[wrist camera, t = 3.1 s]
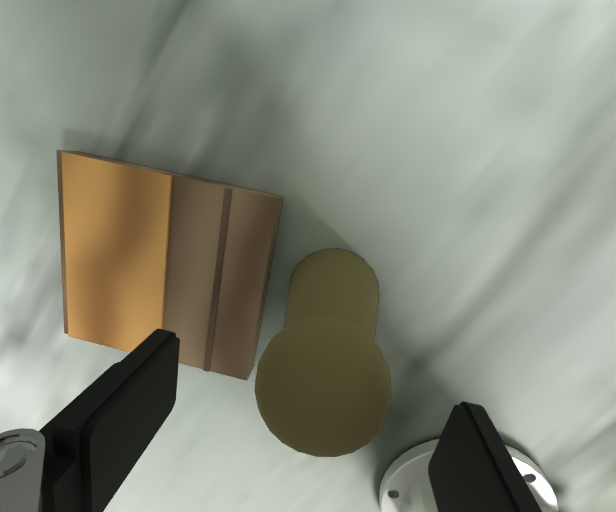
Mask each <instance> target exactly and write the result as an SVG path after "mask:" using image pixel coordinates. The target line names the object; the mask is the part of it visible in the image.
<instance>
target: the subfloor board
mask: <svg viewBox="0 0 616 512" xmlns="http://www.w3.org/2000/svg"><path fill="white" fill-rule="evenodd" d="M57 169H58V192H59V215H60V239H61V262H62V286H63V309H64V333H66V334H68V336H70V337H74V338H77V339H81V340H85V341H89V342H93V343H97V344H100V345H104V346H108V347H112V348H116V349H120V350H123V351H127V352H132V351H133V350H134V349H135V348H136V347H137V346H138V345H139V344H140V343H142V342H143V341H144V340H145V339H146V338H147V337H148V336H149V335H150V334H151V333H152V332H154V331H155V330H156V329H164V330H168V331H172V332H175V333H176V337H178V338H179V339H180V348H179V362H178V363H181V364H185V365H189V366H193V367H197V368H201V369H203V370H204V371H208V372H209V371H212V372H216V373H220V374H224V375H228V376H231V377H235V378H239V379H243V380H247V379H248V377H249V375H250V373H251V371H252V369H253V366H254V360H255V354H256V349H257V343H258V337H259V331H260V326H261V320H262V314H263V308H264V303H265V297H266V291H267V286H268V280H269V274H270V268H271V263H272V257H273V251H274V245H275V240H276V234H277V228H278V223H279V217H280V211H281V205H282V200H283V197H282V196H278V195H273V194H268V193H264V192H259V191H255V190H250V189H246V188H241V187H237V186H232V185H228V184H223V183H218V182H214V181H209V180H205V179H200V178H196V177H191V176H187V175H182V174H178V173H173V172H168V171H164V170H159V169H155V168H150V167H146V166H141V165H137V164H132V163H127V162H123V161H118V160H114V159H109V158H105V157H100V156H96V155H91V154H87V153H82V152H77V151H60V150H57Z"/></svg>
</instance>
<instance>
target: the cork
mask: <svg viewBox="0 0 616 512" xmlns="http://www.w3.org/2000/svg"><path fill="white" fill-rule="evenodd" d="M378 301H379V286H378V281H377V278H376V276H375V273H374V271H373V269H372V268H371V267H370V266H369V265H368V264H367V262H366V261H365V260H364V259H363V258H361V257H359V256H357V255H356V254H354V253H352V252H350V251H346V250H341V249H337V248H336V249H323V250H320V251H317V252H315V253H313V254H310V255H308V256H307V257H306V258H305V259H304V260H302V261H301V262H300V263H299V264H298V266H297V267H296V269H295V271H294V272H293V274H292V277H291V282H290V287H289V294H288V301H287V308H286V315H285V322H284V329H283V330H282V331H281V332H279V333H278V334H277V335H276V336H275V337H274V338H272V340H271V341H270V343H269V345H268V346H267V348H266V350H265V351H264V353H263V355H262V357H261V359H260V361H259V363H258V368H257V374H256V380H255V395H256V400H257V405H258V409H259V411H260V414H261V416H262V418H263V420H264V421H265V423H266V425H267V427H268V428H269V430H270V431H271V432H272V433H273V434H274V435H275V436H276V437H277V438H278V439H279V440H280V441H281V442H282V443H284V444H286V445H287V446H289V447H291V448H293V449H295V450H296V451H298V452H302V453H305V454H309V455H313V456H316V457H337V456H341V455H345V454H349V453H353V452H355V451H356V450H358V449H360V448H361V447H363V446H365V445H367V444H368V443H369V441H370V440H371V439H372V438H373V437H374V436H375V434H376V433H377V432H378V431H379V430H380V428H381V427H382V426H383V424H384V422H385V419H386V417H387V414H388V411H389V408H390V403H391V397H392V395H391V377H390V373H389V369H388V366H387V364H386V361H385V359H384V357H383V355H382V352H381V350H380V349H379V347H378V346H377V344H376V343H375V332H376V322H377V312H378Z"/></svg>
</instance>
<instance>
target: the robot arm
mask: <svg viewBox="0 0 616 512" xmlns="http://www.w3.org/2000/svg"><path fill="white" fill-rule="evenodd" d="M179 348H180V339H179V338H178V337H176V333H175V332H172V331H168V330H164V329H156V330H155V331H154V332H152V333H151V334H150V335H149V336H148V337H147V338H146V339H145V340H144V341H143V342H142V343H140V344H139V345H138V346H137V347H136V348H135V349H134V350H133V351H132V352H131V353H129V354H128V355H127V356H126V357H125V358H124V359H123V360H122V361H121V362H118V363H115V364H114V365H112V366H111V367H110V368H109V369H108V370H106V371H105V372H104V373H103V374H102V375H101V376H100V377H99V378H98V379H96V380H95V381H94V382H93V383H92V384H91V385H90V386H89V387H87V388H86V389H85V390H84V391H83V392H82V393H81V394H80V395H79V396H77V397H76V398H75V399H74V400H73V401H72V402H71V403H70V404H69V405H67V406H66V407H65V408H64V409H63V410H62V411H61V412H60V413H58V414H57V415H56V416H55V417H54V418H53V419H52V420H51V421H50V422H48V423H47V424H46V425H45V426H44V427H43V428H42V429H41V430H40V431H36V430H33V429H22V428H21V429H15V430H9V431H6V432H3V433H0V512H103V511H104V509H105V508H106V506H107V505H108V503H109V502H110V501H111V499H112V498H113V496H114V495H115V493H116V492H117V490H118V489H119V487H120V486H121V484H122V483H123V481H124V480H125V478H126V477H127V476H128V474H129V473H130V471H131V470H132V468H133V467H134V465H135V464H136V462H137V461H138V459H139V458H140V456H141V455H142V453H143V452H144V451H145V449H146V448H147V446H148V445H149V443H150V442H151V440H152V439H153V437H154V436H155V434H156V433H157V431H158V430H159V428H160V427H161V426H162V424H163V423H164V421H165V420H166V418H167V417H168V415H169V414H170V412H171V411H172V409H173V407H174V404H175V400H176V388H177V375H178V362H179ZM379 499H380V511H381V512H559V508H558V502H557V497H556V495H555V493H554V491H553V489H552V487H551V485H550V483H549V482H548V480H547V479H546V477H545V476H544V474H543V473H542V471H541V470H540V468H539V467H538V466H537V465H536V464H535V463H534V462H533V461H532V460H531V459H530V458H528V457H527V456H525V455H524V454H522V453H521V452H519V451H518V450H516V449H514V448H512V447H509V446H507V445H505V444H504V443H503V441H502V439H501V437H500V436H499V434H498V432H497V430H496V428H495V427H494V425H493V423H492V421H491V420H490V418H489V416H488V414H487V412H486V411H485V409H484V408H483V407H482V406H481V405H476V404H472V403H468V402H461V403H460V404H459V405H455V406H454V408H453V410H452V412H451V414H450V417H449V419H448V421H447V423H446V426H445V428H444V430H443V432H442V435H441V437H440V439H436V440H431V441H428V442H425V443H423V444H420V445H417V446H415V447H414V448H412V449H410V450H408V451H406V452H405V453H403V454H402V455H401V456H400V457H398V458H397V459H396V460H395V461H394V462H393V463H392V464H391V466H390V467H389V468H388V469H387V471H386V472H385V474H384V477H383V479H382V481H381V485H380V491H379Z"/></svg>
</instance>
